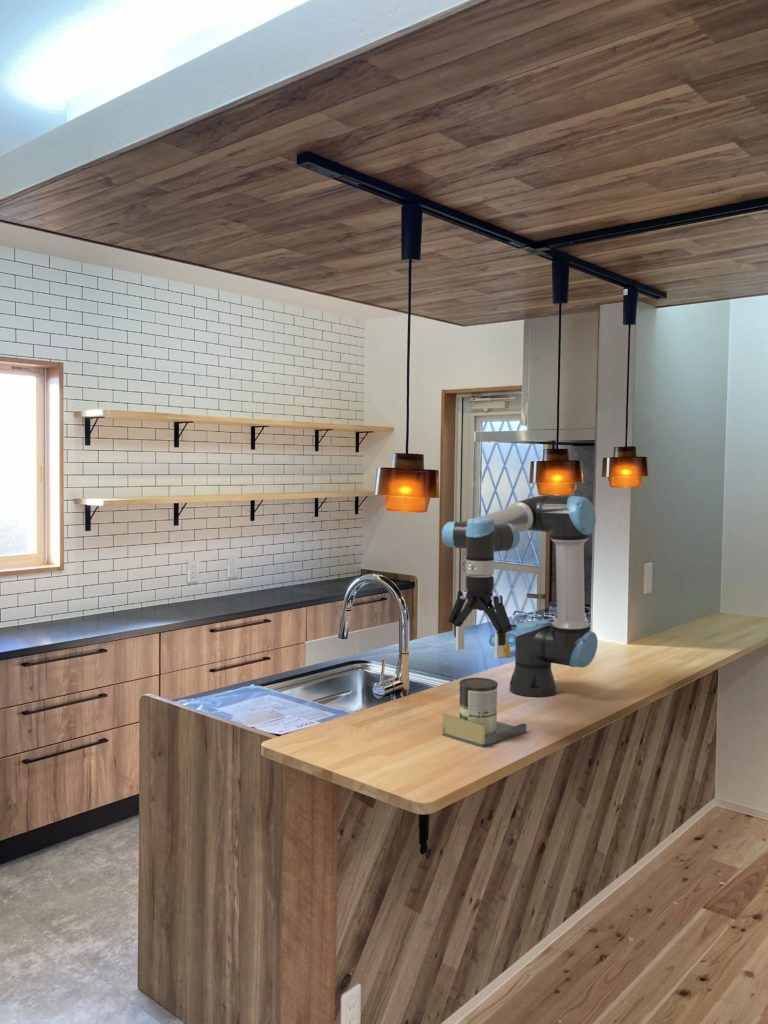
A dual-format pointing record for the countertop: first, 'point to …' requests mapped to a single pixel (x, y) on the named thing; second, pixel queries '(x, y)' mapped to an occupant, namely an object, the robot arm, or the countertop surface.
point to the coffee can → (479, 702)
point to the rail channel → (478, 731)
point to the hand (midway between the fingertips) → (479, 653)
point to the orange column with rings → (507, 644)
